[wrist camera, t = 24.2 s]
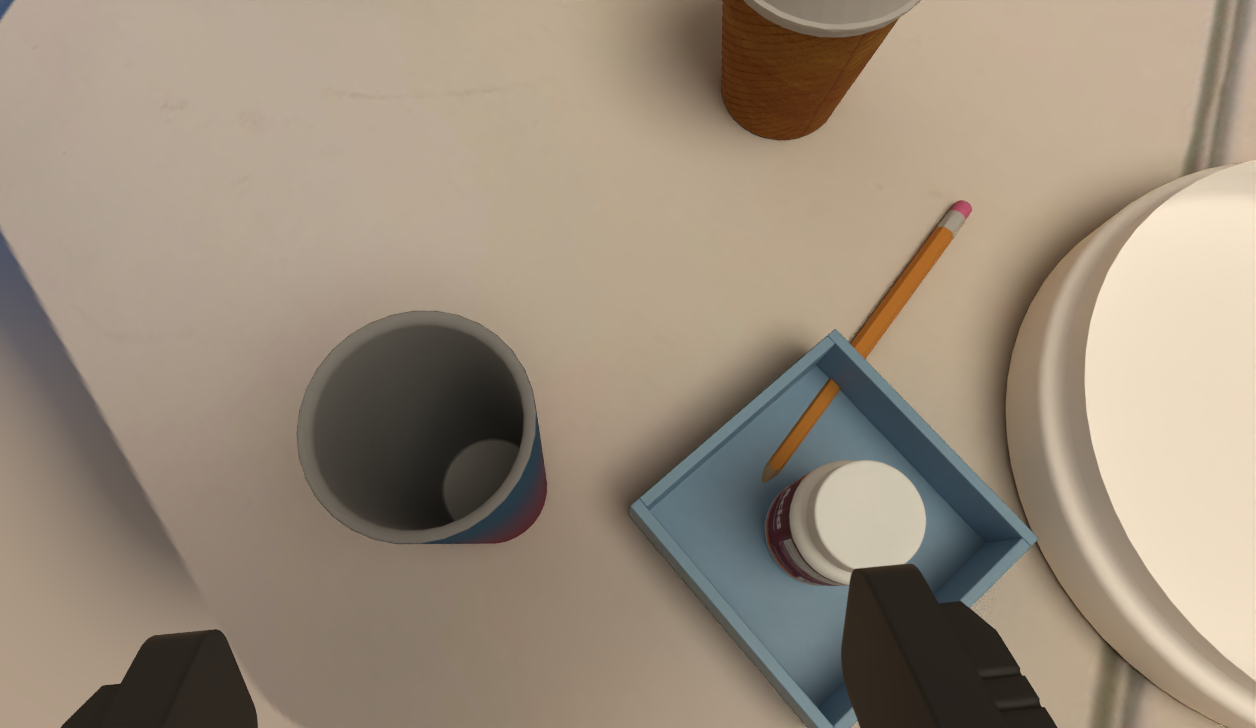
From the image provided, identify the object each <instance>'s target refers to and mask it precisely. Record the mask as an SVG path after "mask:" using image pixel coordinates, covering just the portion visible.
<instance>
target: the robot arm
mask: <svg viewBox="0 0 1256 728" xmlns="http://www.w3.org/2000/svg"><path fill="white" fill-rule="evenodd" d="M841 663H842V671H843V677H844V682H845V686H846V690H847V693H848V696H849V699H850V702H851V704H852V707H853V710H854V712H855V715H856V717H857V720H858V722H859V725H860V728H1057V726H1056V724H1055V723H1054V721H1053V720H1052V718H1051V717H1050V715H1049V713H1048V712H1047V710H1046V709H1045V707H1041V705H1040V702H1039V697H1038V696H1037V694H1036V693H1035V691H1034V689H1033V688H1032V686H1031V685H1030V683H1029V682H1028V680H1027V678H1026V677H1025V676H1022V675H1021V673H1020V667H1019V666H1018V664H1017V662H1016V661H1015V659H1014V658H1013V656H1012V654H1011V653H1010V651H1009V650H1008V648H1007V647H1006V645H1005V643H1004V642H1003V640H1002V639H1001V637H1000V635H999V634H998V632H997V631H996V630H995V629H994V628H993V627H991V626H990V625H989V624H988V623H987V622H985V621H984V620H983V619H982V618H981V617H980V616H978V615H977V614H976V613H975V612H974V611H972V610H971V609H970V608H969V607H968V606H966V605H965V604H964V603H963V602H962V601H955V602H945V603H938V601H937V599H936V598H935V596H934V594H933V592H932V591H931V589H930V587H929V585H928V584H927V582H926V580H925V578H924V577H923V575H922V573H921V572H920V570H919V569H918V568H917V567H916V566H915V565H914V564H911V563H909V564H898V565H888V566H878V567H868V568H858V569H854V570H853V572H852V574H851V577H850V583H849V591H848V599H847V607H846V614H845V622H844V630H843V638H842V645H841ZM61 728H258V723H257V714H256V710H255V707H254V703H253V701H252V699H251V696H250V694H249V692H248V689H247V687H246V684H245V682H244V679H243V677H242V675H241V672H240V670H239V667H238V665H237V663H236V660H235V658H234V655H233V653H232V650H231V648H230V646H229V643H228V641H227V639H226V637H225V635H224V634H223V633H222V632H221V631H220V630H217V629H215V630H205V631H195V632H186V633H175V634H164V635H155V636H152V637H150V638H149V639H147V640H146V641H145V643H144V644H143V645H142V646H141V648H140V650H139V651H138V653H137V655H136V657H135V659H134V661H133V662H132V664H131V666H130V668H129V670H128V671H127V673H126V675H125V677H124V679H123V680H122V682H121V684H114V685H105V686H102V687H101V688H100V689H99V690H98V691H97V692H96V693H95V694H94V695H93V696H92V697H91V698H89V700H87V701H86V703H84V705H82V706H81V707H80V708H79V709H78V710H77V711H76V712H75V713H74V714H73V715H72V716H71V717H70V718H69V719H68V720H67V721H66V722H65V723H64V724H63V725H62V727H61Z"/></svg>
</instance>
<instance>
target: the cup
mask: <svg viewBox="0 0 1256 728" xmlns="http://www.w3.org/2000/svg"><path fill="white" fill-rule="evenodd" d="M297 442H298V453H299V459H300V462H301V466H302V469H303V472H304V475H305V479H306V480H307V482H308V484H309V486H310V488H311V489H312V491H313V493H314V495H315V496H316V498H317V500H318V501H319V502H320V503H321V504H322V505H323V506H324V507H325V508H326V510H327V511H328V512H329V513H330V514H331V515H332V516H333V517H334V518H336V519H337V520H338V521H340V522H341V523H343V524H344V525H345V526H347V527H348V528H350V529H351V530H353V531H355V532H358V533H360V534H362V535H365V536H367V537H369V538H371V539H375V540H380V541H385V542H389V543H394V544H480V543H500V542H505V541H508V540H511V539H513V538H516V537H517V536H519V535H520V534H522V533H523V532H525V531H526V530H527V529H528V528H529V527H530V526H531V525H532V524H533V523H534V522H535V521H536V519H537V518H538V516H539V515H540V513H541V511H542V508H543V506H544V503H545V499H546V494H547V481H546V474H545V467H544V460H543V453H542V446H541V440H540V433H539V426H538V419H537V412H536V406H535V400H534V395H533V389H532V387H531V384H530V382H529V379H528V377H527V374H526V371H525V369H524V367H523V366H522V364H521V363H520V361H519V360H518V358H517V357H516V355H515V354H514V352H513V351H512V350H511V349H510V348H509V347H508V346H507V345H506V344H505V343H504V342H503V341H502V340H501V339H500V338H499V337H498V336H497V335H496V334H494V333H493V332H491V331H490V330H488V329H487V328H485V327H484V326H482V325H481V324H479V323H477V322H474V321H472V320H469V319H467V318H464V317H462V316H459V315H455V314H450V313H444V312H439V311H411V312H405V313H400V314H394V315H390V316H387V317H385V318H382V319H379V320H377V321H374V322H371V323H369V324H367V325H366V326H364V327H362V328H361V329H359V330H357V331H356V332H354V333H352V334H350V335H349V336H348V337H347V338H346V339H345V340H343V341H342V342H341V343H340V344H339V345H338V346H336V347H335V348H334V349H333V350H332V351H331V352H330V353H329V355H328V356H327V357H326V358H325V360H324V361H323V362H322V363H321V365H320V366H319V367H318V368H317V370H316V372H315V374H314V376H313V378H312V379H311V381H310V383H309V385H308V387H307V389H306V392H305V395H304V398H303V401H302V404H301V407H300V410H299V419H298V427H297Z"/></svg>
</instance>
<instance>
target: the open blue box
mask: <svg viewBox="0 0 1256 728" xmlns="http://www.w3.org/2000/svg"><path fill="white" fill-rule="evenodd" d="M829 378H830V379H832V380H833V381H834V382H835V383H836V384H837V385H838V386H839V388H840V391H839V392H838V393H837V395H836V396H835V397H834V399H833V400H832V402H831V403H830V404H829V406H828V407H827V408H826V410H825V411H824V413H823V414H822V415H821V417H820V418H819V419H818V421H817V422H816V423H815V425H814V426H813V428H812V429H811V430H810V432H809V433H808V434H807V436H806V437H805V439H804V440H803V441H802V443H801V444H800V445H799V447H798V448H797V449H796V451H795V452H794V454H793V455H792V456H791V458H790V459H789V460H788V462H787V463H786V464H785V466H784V467H783V469H782V470H781V471H780V473H779V474H778V475H777V476H775V477H774V478H772V479H771V480H769V481H767V482H765V483H763V482H762V475H763V471H764V468H765V465H766V464H767V462H768V461H769V459H770V458H771V457H772V455H773V454H774V453H775V451H776V450H777V448H778V447H779V446H780V444H781V443H782V442H783V440H784V439H785V438H786V436H787V435H788V433H789V432H790V431H791V429H792V428H793V427H794V425H795V424H796V423H797V421H798V420H799V418H800V417H801V416H802V414H803V413H804V412H805V410H806V409H807V407H808V406H809V405H810V403H811V402H812V401H813V399H814V398H815V397H816V395H817V394H818V392H819V391H820V390H821V388H822V387H823V386H824V384H825V383H826V382H827V380H828V379H829ZM841 460H853V461H859V460H872V461H878V462H882V463H885V464H887V465H889V466H891V467H893V468H895V469H897V470H898V471H900V472H901V473H903V474H904V475H905V476H906V477H907V478H908V479H909V480H910V481H911V482H912V484H913V485H914V486H915V488H916V489H917V491H918V493H919V495H920V497H921V499H922V502H923V505H924V508H925V515H926V527H925V533H924V537H923V540H922V543H921V545H920V547H919V549H918V550H917V552H916V553H915V554H914V556H913V557H912V558H911V559H910V560H909V561H908V562H907V563H905V564H909V563H911V564H914V565H915V566H916V567H917V568H918V569H919V570H920V572H921V573H922V575H923V577H924V578H925V580H926V582H927V584H928V585H929V587H930V589H931V591H932V592H933V594H934V596H935V598H936V599H937V601H938V603H945V602H955V601H962V602H963V603H964V604H965V605H966V606H968V607H969V608H970V607H971V606H972V605H973V604H974V603H975V602H976V601H977V600H978V599H979V598H980V597H981V596H982V595H983V594H984V593H985V592H986V591H987V590H988V589H989V588H990V587H991V586H992V585H993V584H994V583H995V582H996V581H997V580H998V579H999V578H1000V577H1001V576H1002V575H1003V574H1004V573H1005V572H1006V571H1007V570H1008V569H1009V568H1010V567H1011V566H1012V565H1013V564H1014V563H1015V562H1016V561H1017V560H1018V559H1019V558H1020V557H1021V556H1022V555H1023V554H1024V553H1025V552H1026V551H1027V550H1028V549H1029V548H1030V546H1032V545H1033V544H1034V543H1035V542H1036V541H1037V540H1038V537H1037V536H1036V535H1035V534H1034V533H1033V532H1032V531H1031V530H1030V529H1029V528H1028V527H1027V526H1026V525H1025V524H1024V523H1023V522H1022V521H1021V520H1020V519H1019V518H1018V517H1017V516H1016V515H1015V514H1014V513H1013V512H1012V511H1011V509H1010V508H1009V507H1008V506H1007V505H1006V504H1005V503H1004V502H1003V501H1002V500H1001V499H1000V498H999V497H998V496H997V495H996V494H995V493H994V492H993V491H992V490H991V489H990V488H989V487H988V486H987V485H986V484H985V483H984V482H983V481H982V480H981V479H980V477H979V476H978V475H977V474H976V473H975V472H974V471H973V470H972V469H971V468H970V467H969V466H968V465H967V464H966V463H965V462H964V461H963V460H962V459H961V458H960V457H959V456H958V455H957V454H956V453H955V452H954V451H953V450H952V449H951V448H950V447H949V445H948V444H947V443H946V442H945V441H944V440H943V439H942V438H941V437H940V436H939V435H938V434H937V433H936V432H935V431H934V430H933V429H932V428H931V427H930V426H929V425H928V424H927V423H926V422H925V421H924V420H923V419H922V418H921V417H920V416H919V415H918V413H917V412H916V411H915V410H914V409H913V408H912V407H911V406H910V405H909V404H908V403H907V402H906V401H905V400H904V399H903V398H902V397H901V396H900V395H899V394H898V393H897V392H896V391H895V390H894V389H893V388H892V387H891V386H890V385H889V384H888V383H887V381H886V380H885V379H884V378H883V377H882V376H881V375H880V374H879V373H878V372H877V371H876V370H875V369H874V368H873V367H872V366H871V365H870V364H869V363H868V362H867V361H866V360H865V359H864V358H863V357H862V356H861V355H860V354H859V353H858V352H857V351H856V349H855V348H854V347H853V346H852V345H851V344H850V343H849V342H848V341H847V340H846V339H845V338H844V337H843V336H842V335H841V334H840V333H839V332H838V331H837V330H836V329H834V330H833V331H832V332H831V333H830V334H829V335H828V336H826V337H825V338H824V339H823V340H822V341H820V342H819V343H818V344H817V345H816V346H815V347H813V348H812V349H811V350H810V351H809V352H808V353H807V354H805V355H804V356H803V357H802V358H801V359H800V360H798V361H797V362H796V363H795V364H794V365H793V366H791V367H790V368H789V369H788V370H787V371H786V372H784V373H783V374H782V375H781V376H780V377H779V378H778V379H776V380H775V381H774V382H773V383H772V384H771V385H769V386H768V387H767V388H766V389H765V390H764V391H762V392H761V393H760V394H759V395H758V396H757V397H756V398H754V399H753V400H752V401H751V402H750V403H749V404H747V405H746V406H745V407H744V408H743V409H742V410H740V411H739V412H738V413H737V414H736V415H735V416H734V417H732V418H731V419H730V420H729V421H728V422H727V423H725V424H724V425H723V426H722V427H721V428H720V429H718V430H717V431H716V432H715V433H714V434H713V435H711V436H710V437H709V438H708V439H707V440H706V441H705V442H703V443H702V444H701V445H700V446H699V447H698V448H696V449H695V450H694V451H693V452H692V453H691V454H689V455H688V456H687V457H686V458H685V459H684V460H683V461H681V462H680V463H679V464H678V465H677V466H676V467H674V468H673V469H672V470H671V471H670V472H669V473H667V474H666V475H665V476H664V477H663V478H662V479H661V480H659V481H658V482H657V483H656V484H655V485H654V486H652V487H651V488H650V489H649V490H648V491H647V492H645V493H644V494H643V495H642V496H641V497H640V498H639V499H637V500H636V501H635V502H634V503H633V504H632V505H631V506H630V512H629V516H630V517H631V519H632V520H633V521H634V522H635V523H636V524H637V526H638V527H639V528H640V529H641V530H642V532H643V533H644V534H645V535H646V536H647V538H648V539H649V540H650V541H651V542H652V543H653V545H654V546H655V547H656V548H657V549H658V551H659V552H660V553H661V554H662V555H663V557H664V558H665V559H666V560H667V561H668V562H669V564H670V565H671V566H672V567H673V568H674V570H675V571H676V572H677V573H678V574H679V575H680V577H681V578H682V579H683V580H684V581H685V583H686V584H687V585H688V586H689V587H690V589H691V590H692V591H693V592H694V593H695V594H696V596H697V597H698V598H699V599H700V600H701V602H702V603H703V604H704V605H705V606H706V608H707V609H708V610H709V611H710V612H711V613H712V615H713V616H714V617H715V618H716V619H717V621H718V622H719V623H720V624H721V625H722V626H723V628H724V629H725V630H726V631H727V632H728V634H729V635H730V636H731V637H732V638H733V640H734V641H735V642H736V643H737V644H738V645H739V647H740V648H741V649H742V650H743V651H744V653H745V654H746V655H747V656H748V657H749V658H750V660H751V661H752V662H753V663H754V664H755V666H756V667H757V668H758V669H759V670H760V672H761V673H762V674H763V675H764V676H765V677H766V679H767V680H768V681H769V682H770V683H771V685H772V686H773V687H774V688H775V689H776V691H777V692H778V693H779V694H780V695H781V696H782V698H783V699H784V700H785V701H786V702H787V704H788V705H789V706H790V707H791V708H792V709H793V711H794V712H795V713H796V714H797V715H798V717H799V718H800V719H801V720H802V721H803V723H804V724H805V725H806V726H807V727H808V728H850V727H851V726H852V725H853V724H854V723H855V722H856V721H857V717H856V715H855V712H854V710H853V707H852V704H851V702H850V699H849V696H848V693H847V690H846V686H845V682H844V677H843V671H842V663H841V645H842V638H843V630H844V622H845V614H846V607H847V599H848V591H849V586H816V585H809V584H805V583H803V582H800V581H798V580H796V579H794V578H792V577H790V576H789V575H788V574H786V573H785V572H784V571H783V570H782V569H781V568H780V567H779V566H778V565H777V563H776V562H775V560H774V559H773V557H772V555H771V553H770V551H769V549H768V546H767V543H766V538H765V520H766V515H767V512H768V510H769V507H770V505H771V504H772V502H773V500H774V499H775V497H776V496H777V495H778V494H779V493H780V492H781V491H782V490H783V489H785V488H786V487H787V486H789V485H791V484H792V483H793V482H795V481H797V480H798V479H800V478H801V477H803V476H805V475H807V474H808V473H810V472H811V471H813V470H815V469H816V468H818V467H820V466H822V465H825V464H827V463H831V462H835V461H841Z"/></svg>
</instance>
